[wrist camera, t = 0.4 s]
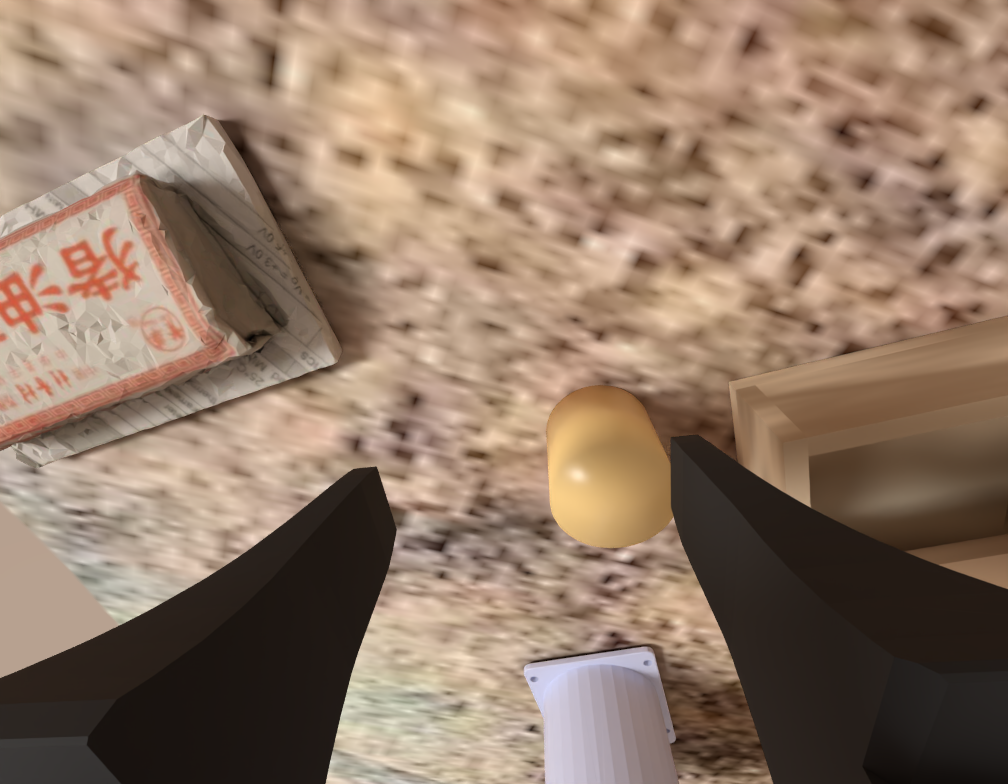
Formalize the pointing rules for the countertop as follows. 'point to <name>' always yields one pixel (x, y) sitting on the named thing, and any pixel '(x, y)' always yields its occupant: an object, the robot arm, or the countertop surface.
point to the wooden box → (889, 436)
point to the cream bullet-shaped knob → (607, 469)
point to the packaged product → (147, 298)
